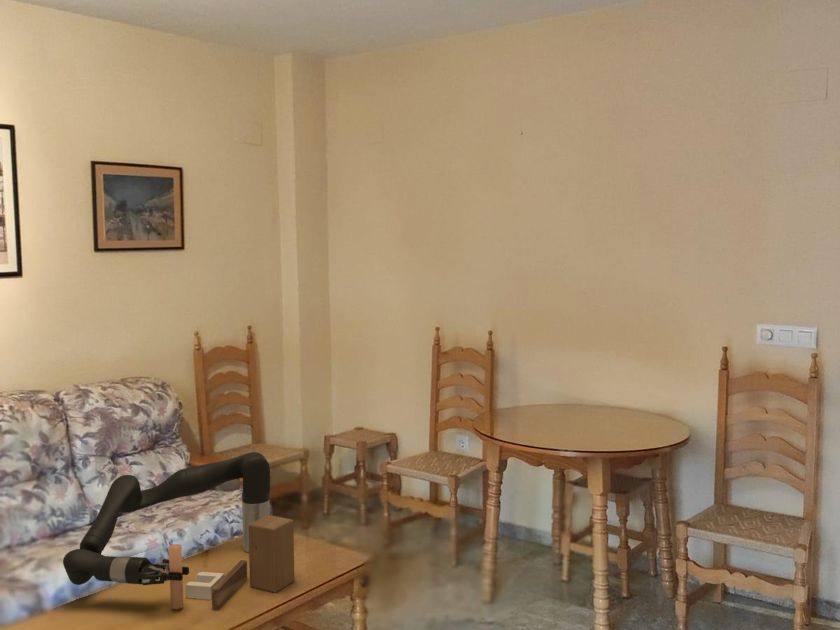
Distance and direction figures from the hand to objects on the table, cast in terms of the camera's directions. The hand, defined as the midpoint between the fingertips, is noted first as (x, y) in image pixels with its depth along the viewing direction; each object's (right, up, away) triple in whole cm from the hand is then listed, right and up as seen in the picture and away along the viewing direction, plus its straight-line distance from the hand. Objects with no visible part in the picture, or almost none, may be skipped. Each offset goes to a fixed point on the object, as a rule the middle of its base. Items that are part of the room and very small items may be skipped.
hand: (185, 573), depth 237 cm
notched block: (+3, -10, +13) cm, 16 cm away
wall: (+10, -10, +12) cm, 18 cm away
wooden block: (+22, -9, +18) cm, 30 cm away
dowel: (-3, -10, +1) cm, 10 cm away
